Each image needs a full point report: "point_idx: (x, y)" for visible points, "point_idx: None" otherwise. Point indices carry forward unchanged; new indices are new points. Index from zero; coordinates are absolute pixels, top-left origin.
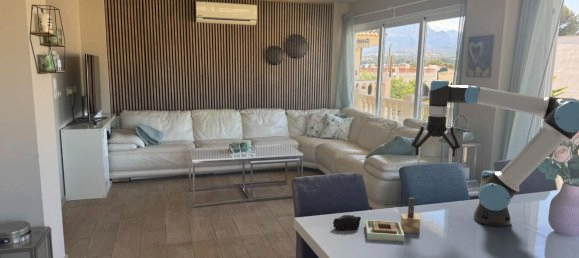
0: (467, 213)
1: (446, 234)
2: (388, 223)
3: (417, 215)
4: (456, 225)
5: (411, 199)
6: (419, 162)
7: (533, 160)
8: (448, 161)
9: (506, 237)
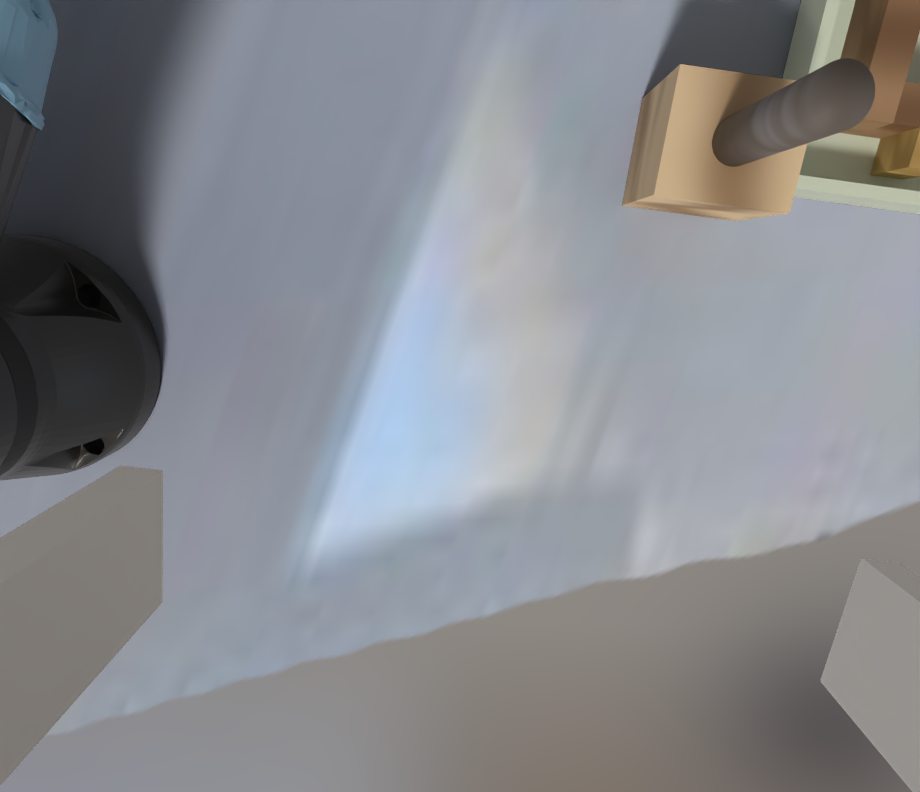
0: (172, 486)
1: (454, 80)
2: (908, 104)
3: (667, 167)
4: (323, 259)
5: (855, 63)
6: (876, 567)
7: None
8: (143, 616)
9: None
